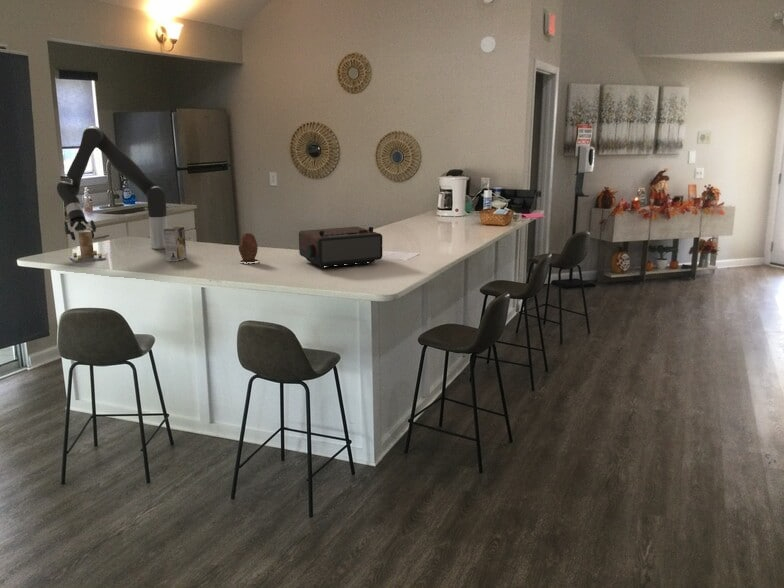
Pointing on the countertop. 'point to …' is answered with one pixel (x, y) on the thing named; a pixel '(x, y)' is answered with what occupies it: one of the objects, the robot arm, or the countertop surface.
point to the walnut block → (86, 244)
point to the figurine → (248, 248)
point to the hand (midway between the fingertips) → (83, 238)
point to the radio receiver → (340, 246)
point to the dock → (80, 259)
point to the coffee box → (175, 243)
